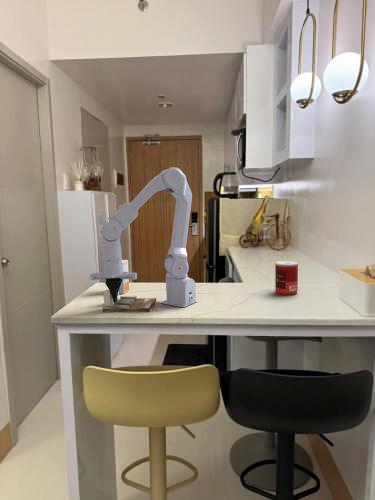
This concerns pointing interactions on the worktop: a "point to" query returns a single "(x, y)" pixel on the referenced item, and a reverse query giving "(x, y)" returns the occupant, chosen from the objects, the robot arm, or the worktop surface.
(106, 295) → the knob front
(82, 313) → the worktop surface
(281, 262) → the canned food
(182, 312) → the worktop surface
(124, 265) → the skincare box
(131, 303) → the switch board
